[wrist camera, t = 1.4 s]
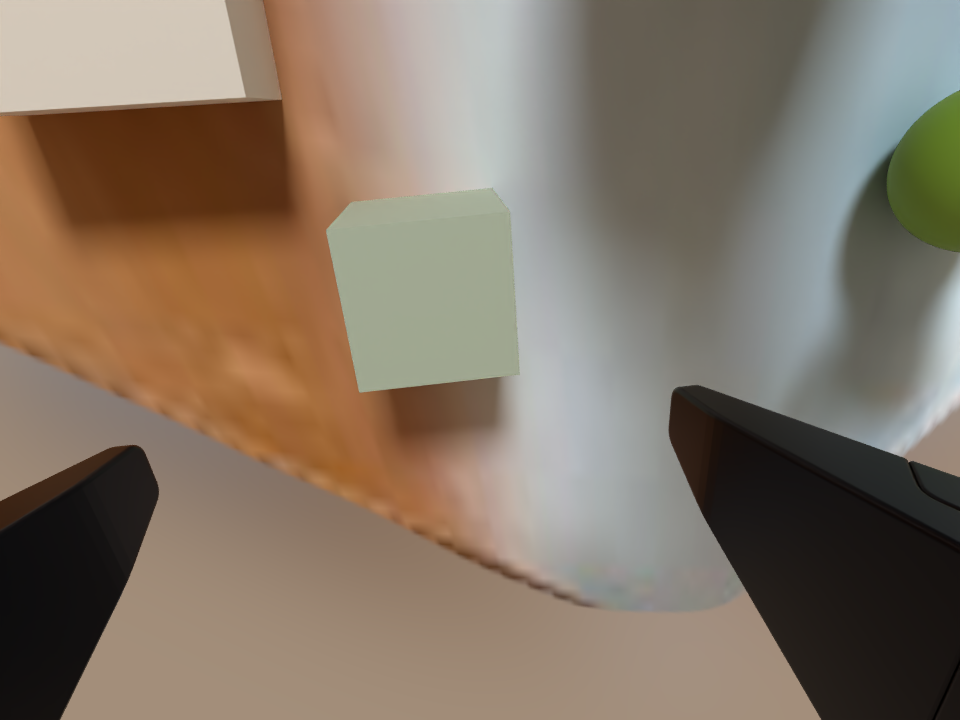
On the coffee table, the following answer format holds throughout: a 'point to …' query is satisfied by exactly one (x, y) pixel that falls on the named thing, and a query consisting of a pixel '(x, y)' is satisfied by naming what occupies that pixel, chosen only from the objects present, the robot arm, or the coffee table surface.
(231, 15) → the base block
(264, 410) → the coffee table surface
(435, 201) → the green cube
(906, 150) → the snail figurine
